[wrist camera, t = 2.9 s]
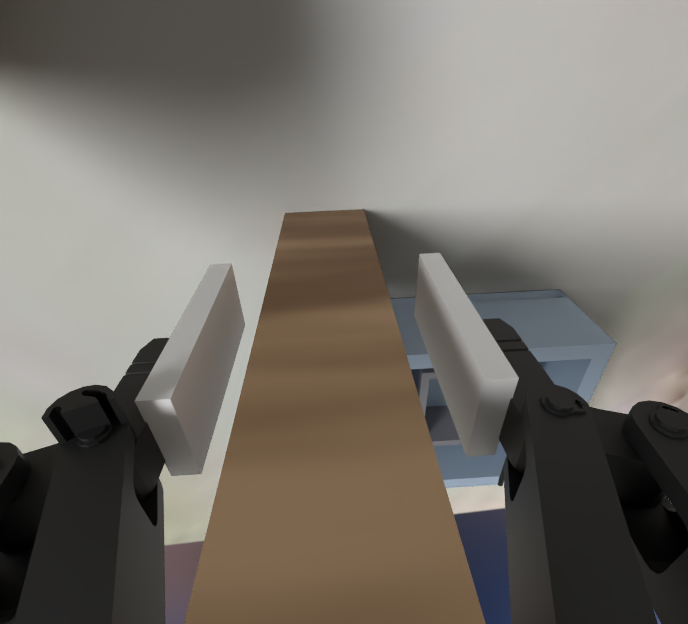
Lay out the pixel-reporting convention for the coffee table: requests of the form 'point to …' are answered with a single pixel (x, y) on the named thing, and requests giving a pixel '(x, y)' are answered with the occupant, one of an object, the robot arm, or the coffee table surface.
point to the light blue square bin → (541, 339)
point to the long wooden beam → (330, 457)
